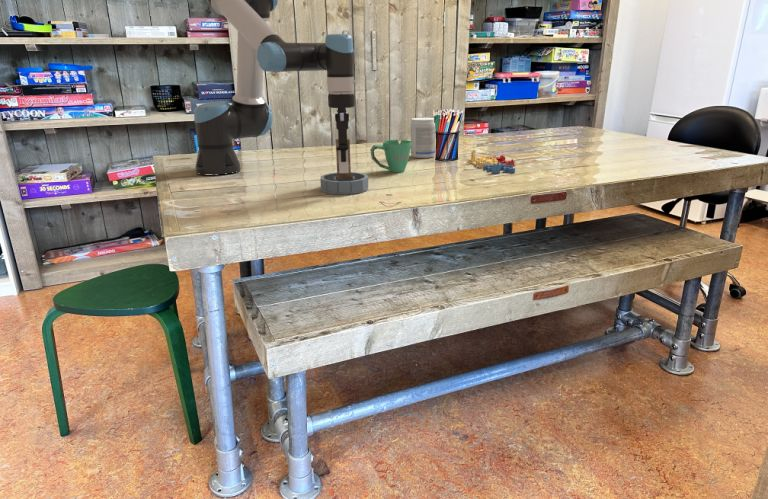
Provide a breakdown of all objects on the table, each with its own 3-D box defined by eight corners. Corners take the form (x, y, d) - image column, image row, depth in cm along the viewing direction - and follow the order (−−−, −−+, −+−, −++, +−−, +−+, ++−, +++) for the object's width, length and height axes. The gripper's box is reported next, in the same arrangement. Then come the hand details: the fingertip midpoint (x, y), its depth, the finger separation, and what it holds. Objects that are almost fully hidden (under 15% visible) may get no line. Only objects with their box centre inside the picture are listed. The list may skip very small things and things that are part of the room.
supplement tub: (440, 156, 213) (440, 118, 208) (423, 159, 207) (424, 120, 202) (421, 153, 219) (422, 116, 214) (405, 156, 213) (405, 118, 208)
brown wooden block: (337, 187, 160) (335, 140, 155) (337, 185, 162) (335, 139, 158) (351, 187, 160) (349, 139, 156) (351, 185, 163) (349, 138, 158)
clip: (334, 188, 159) (333, 179, 158) (334, 185, 163) (333, 176, 162) (355, 188, 160) (354, 179, 159) (354, 184, 164) (354, 175, 163)
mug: (404, 167, 193) (404, 139, 189) (416, 172, 184) (416, 142, 181) (366, 170, 187) (365, 141, 184) (376, 176, 179) (375, 145, 175)
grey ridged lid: (320, 195, 155) (319, 182, 153) (322, 184, 168) (321, 172, 167) (369, 194, 156) (368, 181, 154) (367, 183, 169) (366, 171, 167)
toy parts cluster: (449, 153, 221) (449, 140, 219) (482, 152, 223) (482, 139, 221) (491, 176, 179) (492, 160, 177) (530, 174, 182) (532, 158, 180)
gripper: (355, 95, 141) (357, 176, 148) (353, 90, 164) (355, 160, 171) (326, 96, 141) (330, 177, 148) (328, 90, 164) (331, 161, 171)
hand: (343, 168), depth 160 cm, fingers open, 12 cm apart
